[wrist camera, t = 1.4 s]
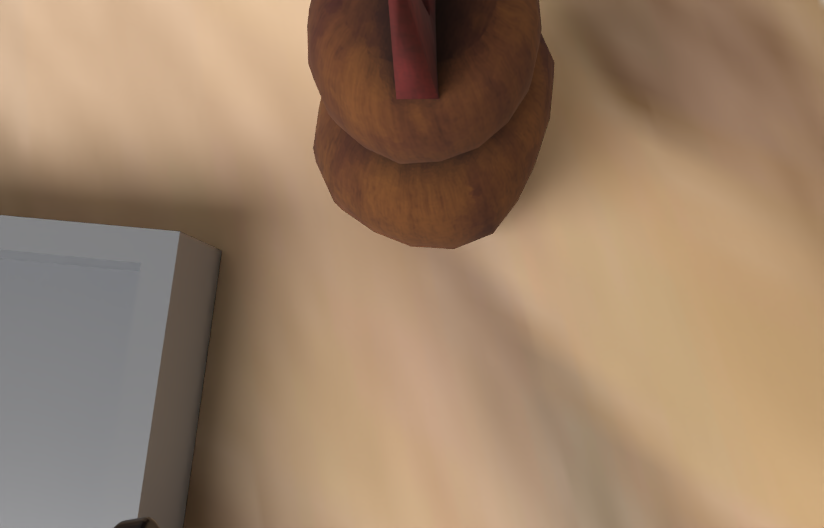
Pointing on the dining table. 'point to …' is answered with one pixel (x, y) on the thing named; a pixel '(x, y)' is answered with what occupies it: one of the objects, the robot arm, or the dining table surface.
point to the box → (100, 371)
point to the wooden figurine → (429, 112)
